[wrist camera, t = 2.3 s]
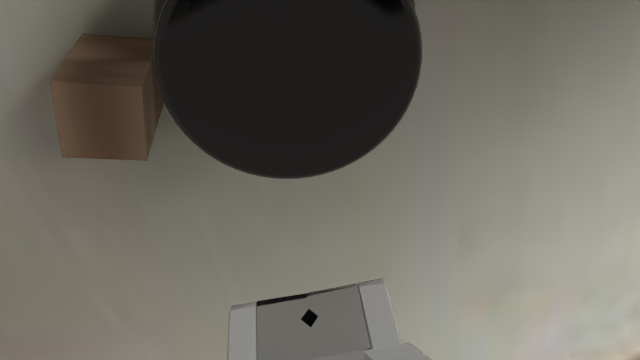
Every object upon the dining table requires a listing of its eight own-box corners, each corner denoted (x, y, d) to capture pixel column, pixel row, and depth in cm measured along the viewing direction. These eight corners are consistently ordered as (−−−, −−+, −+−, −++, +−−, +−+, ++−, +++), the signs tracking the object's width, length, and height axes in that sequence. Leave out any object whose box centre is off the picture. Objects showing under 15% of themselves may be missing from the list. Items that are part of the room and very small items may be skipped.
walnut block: (159, 39, 32) (141, 86, 27) (162, 105, 34) (146, 160, 29) (82, 33, 32) (50, 81, 27) (90, 101, 34) (62, 157, 29)
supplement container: (379, 62, 34) (430, 180, 24) (195, 78, 34) (170, 204, 24) (381, -145, 28) (448, -103, 18) (157, -130, 28) (101, -78, 18)
